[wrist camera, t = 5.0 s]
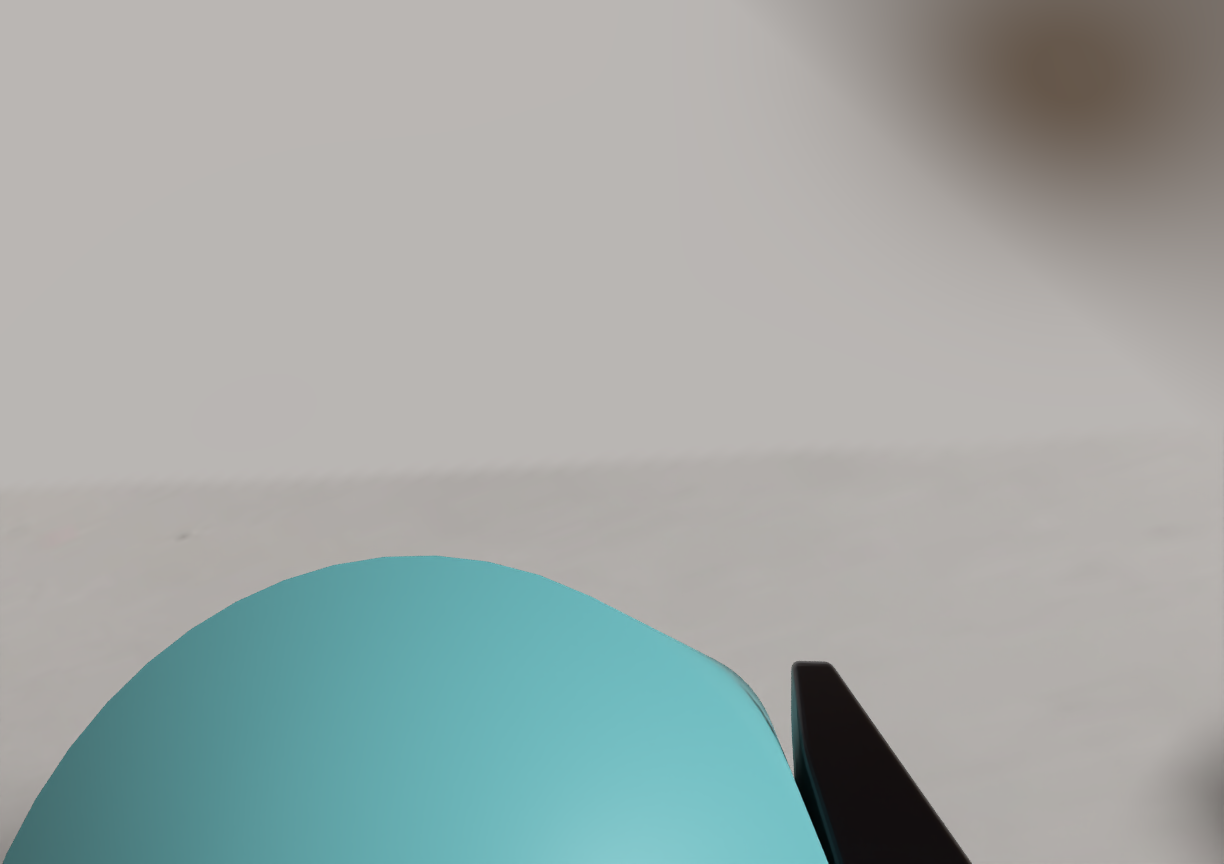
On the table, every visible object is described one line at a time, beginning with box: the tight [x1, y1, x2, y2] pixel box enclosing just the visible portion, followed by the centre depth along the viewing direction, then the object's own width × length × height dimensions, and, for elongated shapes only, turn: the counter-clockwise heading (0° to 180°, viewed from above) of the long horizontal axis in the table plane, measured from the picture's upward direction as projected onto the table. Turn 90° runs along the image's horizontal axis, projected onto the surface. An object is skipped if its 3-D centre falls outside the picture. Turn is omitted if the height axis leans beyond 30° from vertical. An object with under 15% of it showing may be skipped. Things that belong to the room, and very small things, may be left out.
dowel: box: [3, 556, 828, 864], centre depth 9 cm, size 4×4×12 cm
